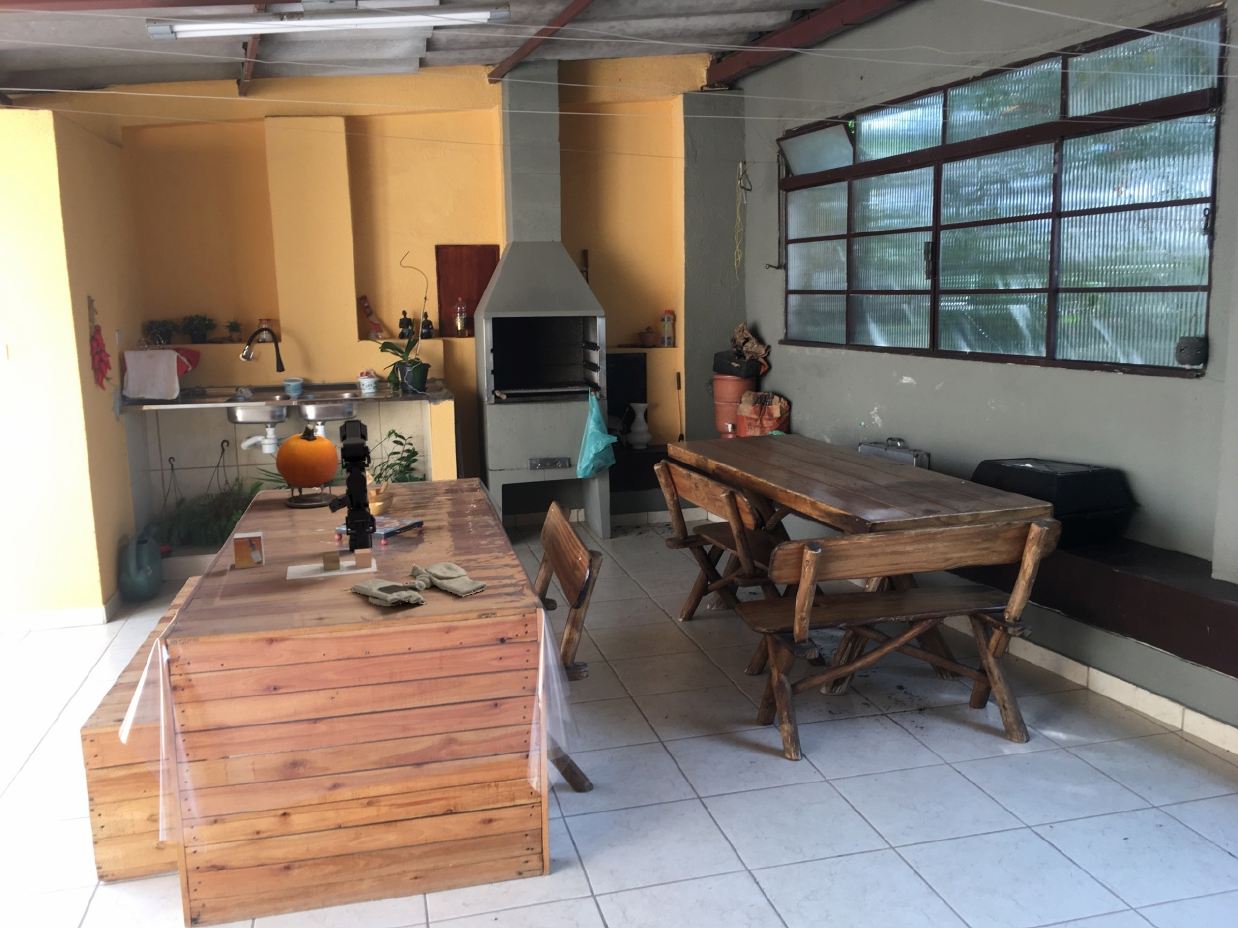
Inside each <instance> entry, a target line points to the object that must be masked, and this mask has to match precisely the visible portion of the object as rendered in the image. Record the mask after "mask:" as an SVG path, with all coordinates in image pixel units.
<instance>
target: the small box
mask: <svg viewBox="0 0 1238 928" xmlns="http://www.w3.org/2000/svg"><path fill="white" fill-rule="evenodd" d="M263 534H264V533H263V531H255V532H246V533H245V532H244V533H234V536H233V538H232V539H233V540H232V541H233V553H234V565H235V566H234V568H235V569H236V570H237V569H249V568H258V567H264V566H265V562H266V561H265V551H264V550H265V549H264V535H263Z"/></svg>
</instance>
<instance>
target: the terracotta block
mask: <svg viewBox="0 0 1238 928" xmlns="http://www.w3.org/2000/svg"><path fill="white" fill-rule="evenodd" d="M354 558H355V560H354V561H355V562H356V569H359V568H370V567H372V562H371V559H372V550H371V549H358V550H355V552H354Z"/></svg>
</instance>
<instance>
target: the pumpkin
mask: <svg viewBox="0 0 1238 928" xmlns="http://www.w3.org/2000/svg"><path fill="white" fill-rule="evenodd" d="M337 452H338V451H337V449H336V447H335V445H334V444H333V442H332V441H331V440H329V439H328V438H326V437H324V436H321V435H316V434H315V429H314V425H313V424H306V426H305V428H304V430H303V432H302V433H297V434H296V433H295V434H294V435H292V436H290V437H288V438H286V439H285V440H284V441H283V442H282V444H280V447H279V449H278V451H277V454H276V458H275V467H276V470H277V472H278V474H280V475H281V477H282V478H283V480H284V482H285V483H286V484H287V486H288V488H289V489H290V491H291V496H289V497H287V498H286V500H285V506H286V507H287V508H289V507H290V508H301V509H302V508H304V509H305V508H306V509H307V508H309V509H310V508H318V507H324V506H328V504H327V501H328V500H330V499H332V498H334V497H337V496H338V495H336V494H334V493H332V487H331V486H332V485H334V483H335V481H334V478H335V475H336V474H337V471H338V467H339V456H338V453H337ZM316 487H318V488H320V490H321V492H314V493H313V492H312V493H304V494H303V488H305V489H312V488H316ZM327 487H328V489H329V492H324V490H325V489H326V488H327ZM296 489H297V492H298V493H299V494H297V495H294V491H295V490H296Z"/></svg>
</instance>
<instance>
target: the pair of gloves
mask: <svg viewBox="0 0 1238 928" xmlns="http://www.w3.org/2000/svg"><path fill="white" fill-rule="evenodd" d="M410 575H411V576H415V580H410V582H409V583H404V584H403V583H400V582H395V581H389V580H385V579H382V578H380V579H379V578H374V579H369V580H365V581H361V582H359V583H355V584H354V585H352V587H351V590H352V592H353V591H354V593H355V592H357V593H356V594H359V593H360V595H363V594H364V595H363V596H368V602H369V603H370V602H371V603H370V604H372V603H373V604H372V605H374V604H377V605H376V606H378V605H382V606H381V607H383V606H389V607H388V608H391V607H390V606H395V605H398V604H400V603H403V602H406V601H409V602H408V603H410V604H415V603H418V604H420V605H421V604H422V603H424V602H428V600H426V599H424V597H423V596H422V595H421V594H420V593H422V592H423V591H424V590H426V589H425V588H427V589H429V588H431V587H433V586H435V585H436V586H435V587H438V588H439V589H441V590H442V591H445V590H447V591H446V592H449V593H450V592H452V593H451V594H453V593H455V594H457V595H460V596H463V595H466V594H470V593H473V592H477V591H480V590H484V591H485V590H486V588H487V582H483V581H481V580H472V579H471V578H470V577H469V576H467V575H468V573H467V571H466V570H465V569H463V568H462V567H460V566H459V565H457V564H455V563H453V562H449V561H448V562H446V561H444V562H438V563H436V564H431V565H429V566H426V567H424V568H420V566H419V565H417V564H414V565H412V568H411V571H410ZM472 591H473V592H472ZM455 594H454V595H455ZM457 595H456V596H457ZM460 596H459V597H460ZM400 605H401V604H400ZM398 606H399V605H398ZM395 607H396V606H395Z"/></svg>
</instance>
